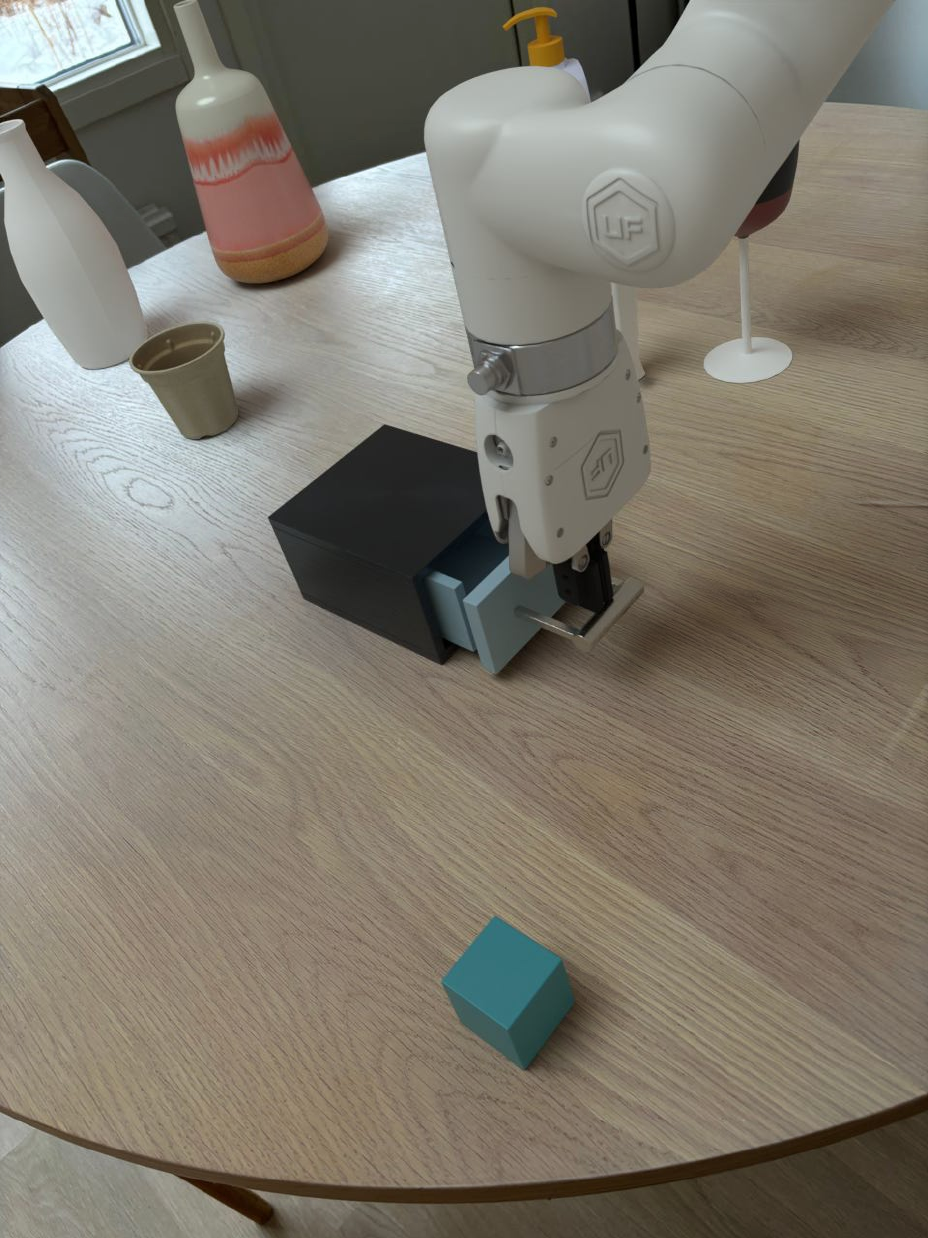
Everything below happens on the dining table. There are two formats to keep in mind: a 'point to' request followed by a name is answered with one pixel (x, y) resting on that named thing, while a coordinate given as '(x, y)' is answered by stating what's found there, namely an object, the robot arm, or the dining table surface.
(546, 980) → the teal block
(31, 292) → the bottle
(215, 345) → the flower pot
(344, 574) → the small black cabinet
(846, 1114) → the dining table surface
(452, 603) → the drawer
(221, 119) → the vase
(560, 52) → the soap bottle
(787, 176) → the wineglass
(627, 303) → the perfume bottle
